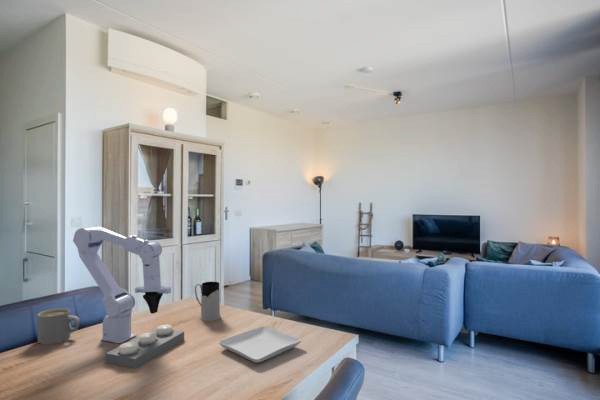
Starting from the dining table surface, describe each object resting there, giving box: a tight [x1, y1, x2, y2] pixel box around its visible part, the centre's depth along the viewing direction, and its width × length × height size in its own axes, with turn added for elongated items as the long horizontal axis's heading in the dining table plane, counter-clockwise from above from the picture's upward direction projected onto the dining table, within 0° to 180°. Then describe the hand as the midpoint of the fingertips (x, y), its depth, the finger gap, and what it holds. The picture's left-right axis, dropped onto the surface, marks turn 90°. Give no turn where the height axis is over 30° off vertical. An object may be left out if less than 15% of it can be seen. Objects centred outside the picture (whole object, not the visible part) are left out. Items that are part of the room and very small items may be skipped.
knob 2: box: [138, 332, 157, 345], centre depth 125 cm, size 6×6×5 cm
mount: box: [104, 328, 185, 369], centre depth 125 cm, size 12×24×3 cm, turn 161°
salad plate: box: [218, 326, 302, 364], centre depth 127 cm, size 21×21×3 cm
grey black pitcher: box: [194, 281, 222, 322], centre depth 160 cm, size 9×14×15 cm, turn 57°
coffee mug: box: [37, 307, 81, 345], centre depth 134 cm, size 13×10×10 cm
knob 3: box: [155, 324, 174, 336], centre depth 133 cm, size 6×6×5 cm
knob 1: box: [118, 341, 138, 356], centre depth 117 cm, size 6×6×5 cm
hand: (154, 312), depth 133 cm, fingers closed
